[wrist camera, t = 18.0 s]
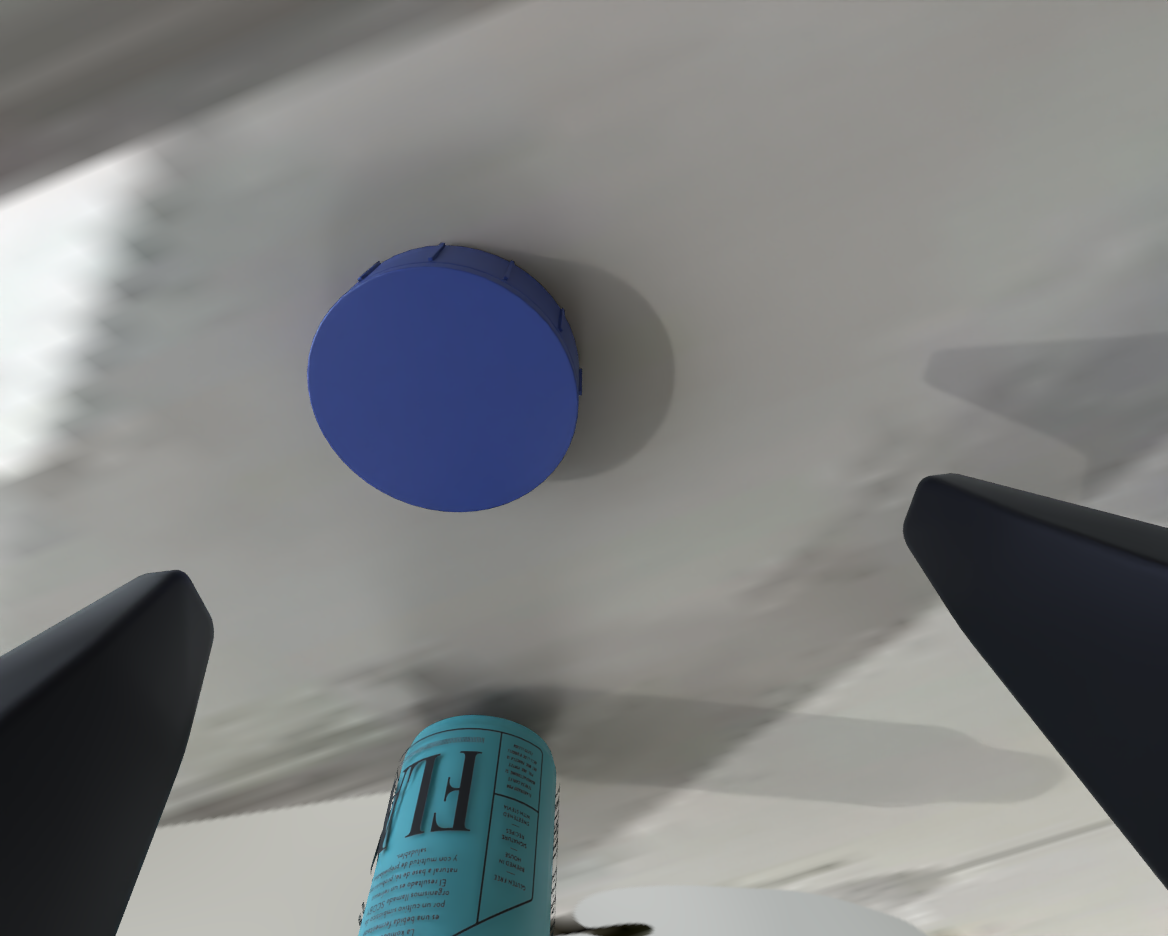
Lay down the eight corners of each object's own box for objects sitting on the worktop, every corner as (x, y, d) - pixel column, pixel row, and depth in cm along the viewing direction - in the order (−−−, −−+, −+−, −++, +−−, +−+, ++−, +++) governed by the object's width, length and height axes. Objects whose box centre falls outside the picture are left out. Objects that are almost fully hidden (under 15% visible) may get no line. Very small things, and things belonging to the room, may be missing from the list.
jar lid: (330, 444, 20) (302, 483, 18) (344, 213, 16) (310, 231, 14) (549, 491, 21) (545, 534, 19) (607, 282, 17) (610, 308, 15)
